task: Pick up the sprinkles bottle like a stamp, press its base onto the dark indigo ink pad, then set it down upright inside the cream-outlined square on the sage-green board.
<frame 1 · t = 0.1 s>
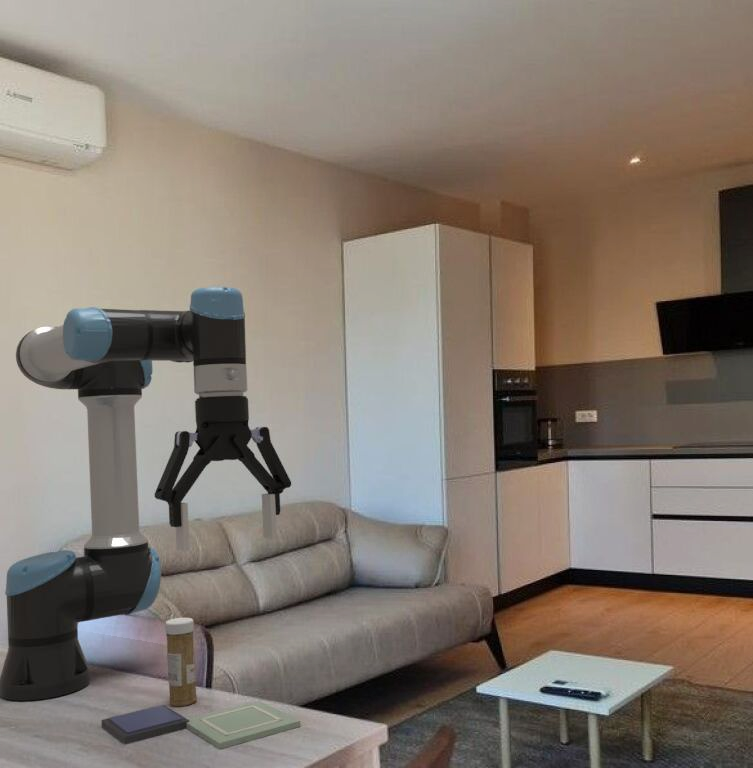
hand: (228, 544, 125), 28 cm above the table, fingers open, 13 cm apart
sprinkles bottle: (183, 703, 144), on the table
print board: (240, 725, 131), on the table
ink pad: (145, 726, 133), on the table
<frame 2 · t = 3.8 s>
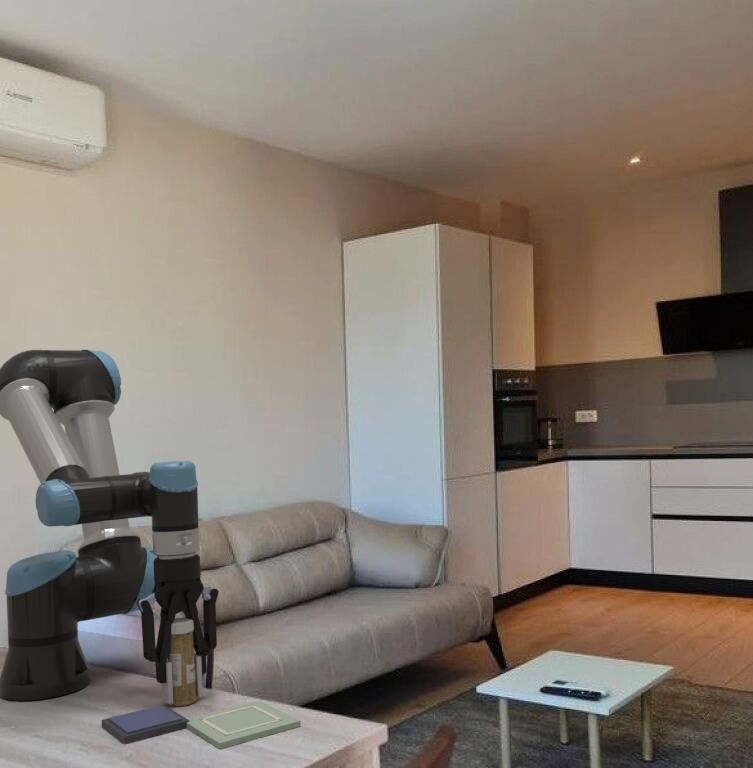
hand: (182, 698, 144), 1 cm above the table, fingers closed on sprinkles bottle, 4 cm apart
sprinkles bottle: (182, 703, 144), on the table, touching gripper
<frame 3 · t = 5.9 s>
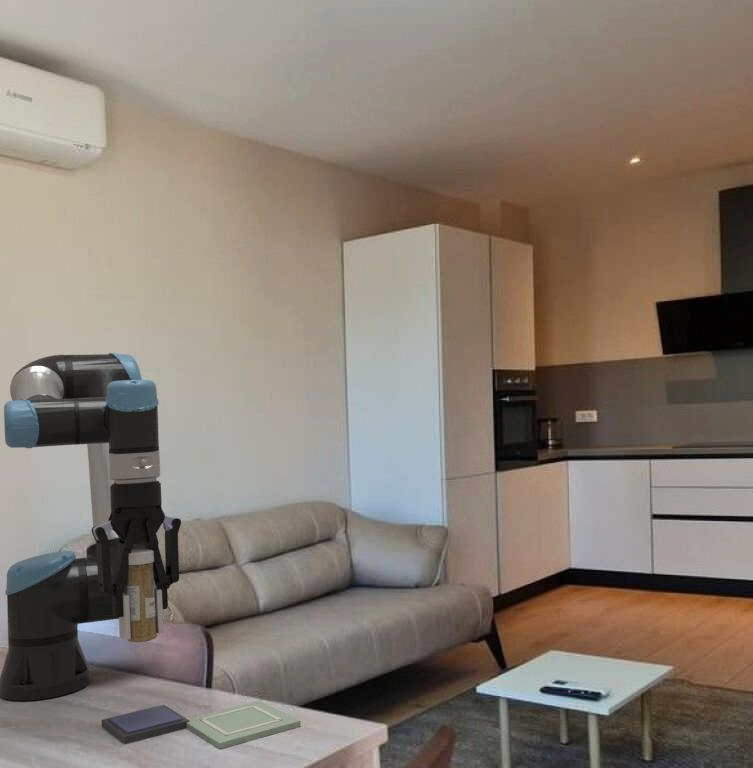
hand: (141, 634, 133), 14 cm above the table, fingers closed on sprinkles bottle, 4 cm apart
sprinkles bottle: (141, 640, 133), point 13 cm above the table, touching gripper
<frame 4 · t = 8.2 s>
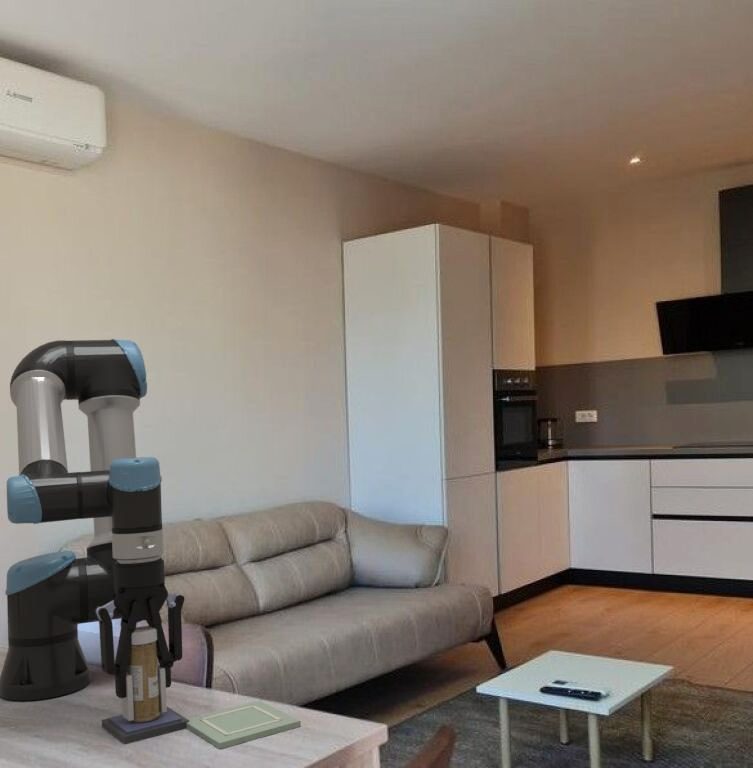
hand: (144, 713, 133), 2 cm above the table, fingers closed on sprinkles bottle, 4 cm apart
sprinkles bottle: (145, 719, 133), point 1 cm above the table, touching gripper, ink pad
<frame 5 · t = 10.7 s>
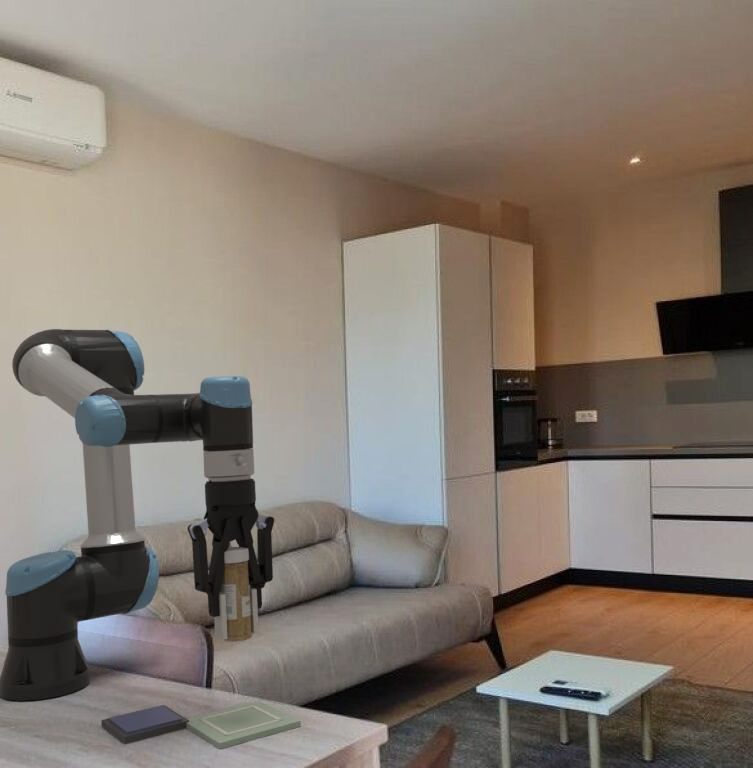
hand: (236, 634, 131), 14 cm above the table, fingers closed on sprinkles bottle, 4 cm apart
sprinkles bottle: (237, 639, 131), point 13 cm above the table, touching gripper
when the fingers open (3 cm above the table, at t = 12.8 s): sprinkles bottle drops 1 cm, resting on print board.
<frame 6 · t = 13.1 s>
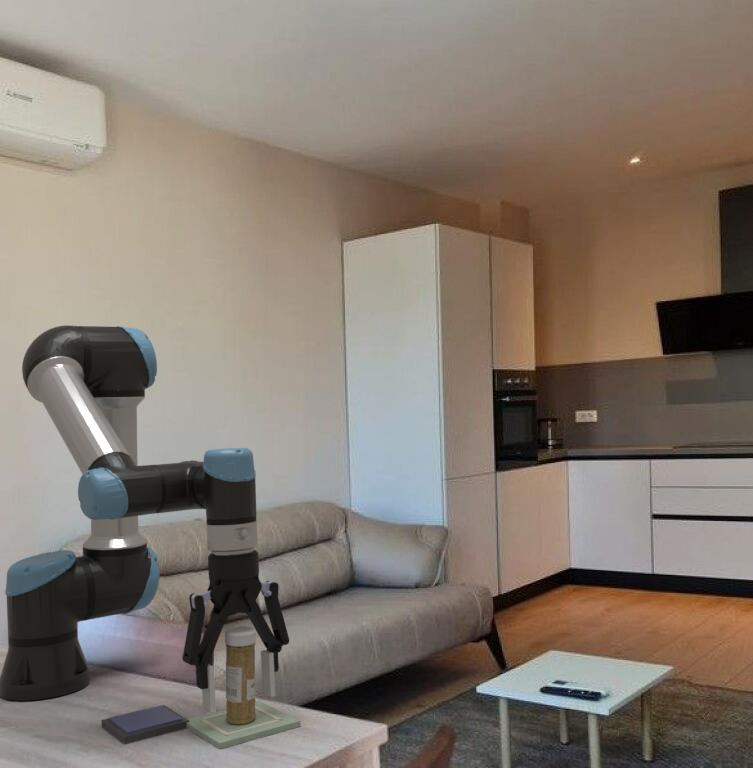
hand: (239, 702, 131), 4 cm above the table, fingers open, 9 cm apart
sprinkles bottle: (240, 720, 131), point 1 cm above the table, touching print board
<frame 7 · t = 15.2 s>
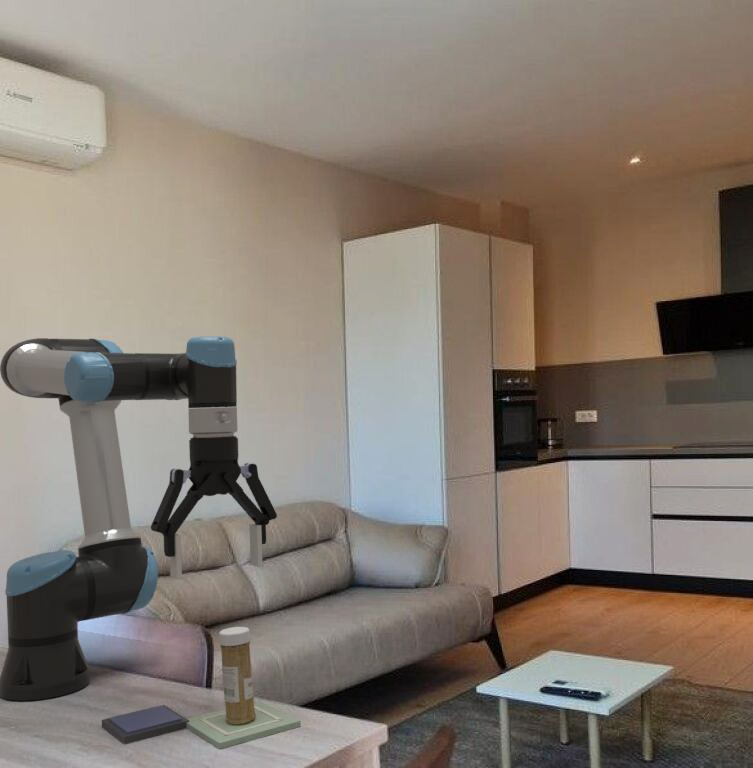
hand: (217, 571, 137), 22 cm above the table, fingers open, 13 cm apart
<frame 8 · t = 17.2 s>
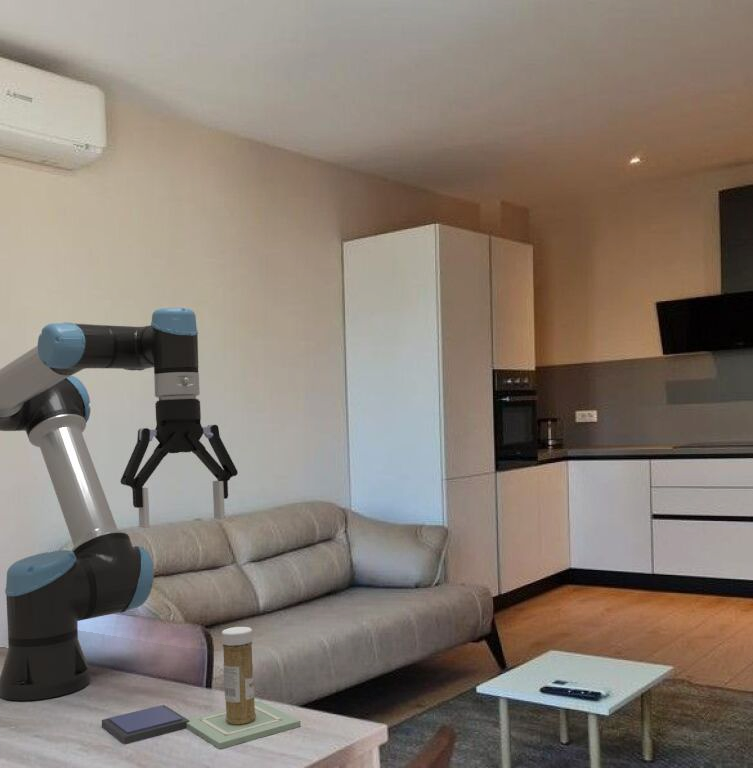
hand: (182, 522, 150), 29 cm above the table, fingers open, 13 cm apart
nothing on the table moved.
at the end: sprinkles bottle inside the target area on the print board (0.0 cm from its centre), point 0.6 cm above the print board's base; sprinkles bottle tilted 1°; the gripper is holding nothing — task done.
